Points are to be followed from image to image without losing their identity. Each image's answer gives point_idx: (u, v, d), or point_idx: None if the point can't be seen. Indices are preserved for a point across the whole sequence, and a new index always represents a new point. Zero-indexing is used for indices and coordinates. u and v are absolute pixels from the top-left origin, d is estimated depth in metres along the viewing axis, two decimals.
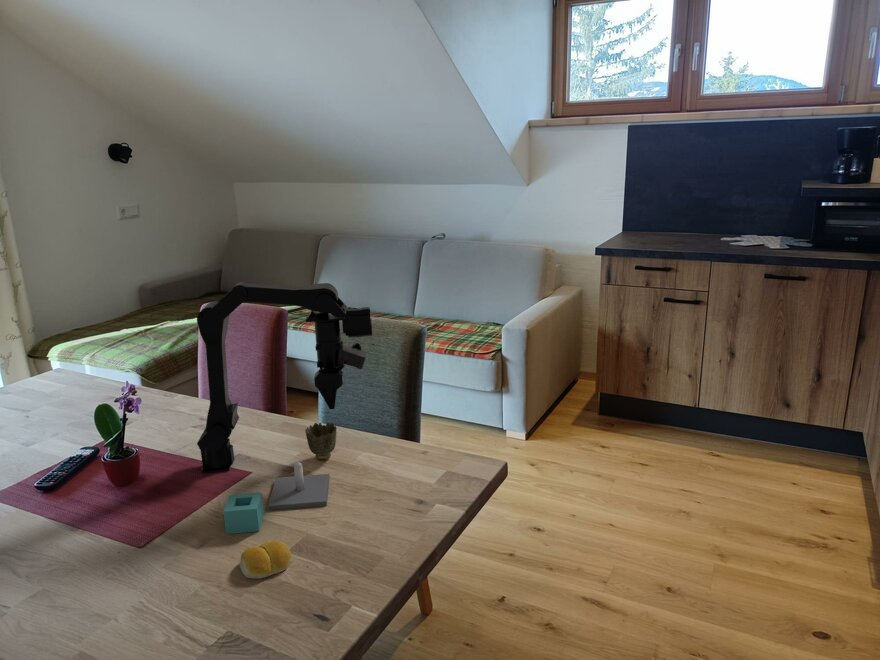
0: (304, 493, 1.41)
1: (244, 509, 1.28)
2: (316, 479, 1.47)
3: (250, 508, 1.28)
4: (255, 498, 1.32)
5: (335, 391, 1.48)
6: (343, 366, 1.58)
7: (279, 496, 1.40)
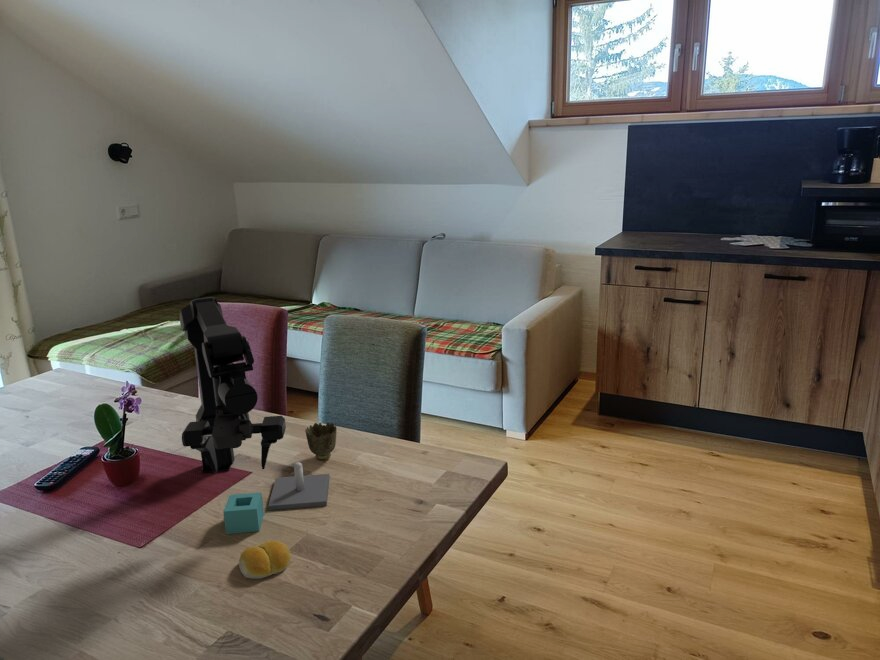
0: (304, 493, 1.41)
1: (244, 509, 1.28)
2: (316, 479, 1.47)
3: (250, 508, 1.28)
4: (255, 498, 1.32)
5: None
6: None
7: (279, 496, 1.40)
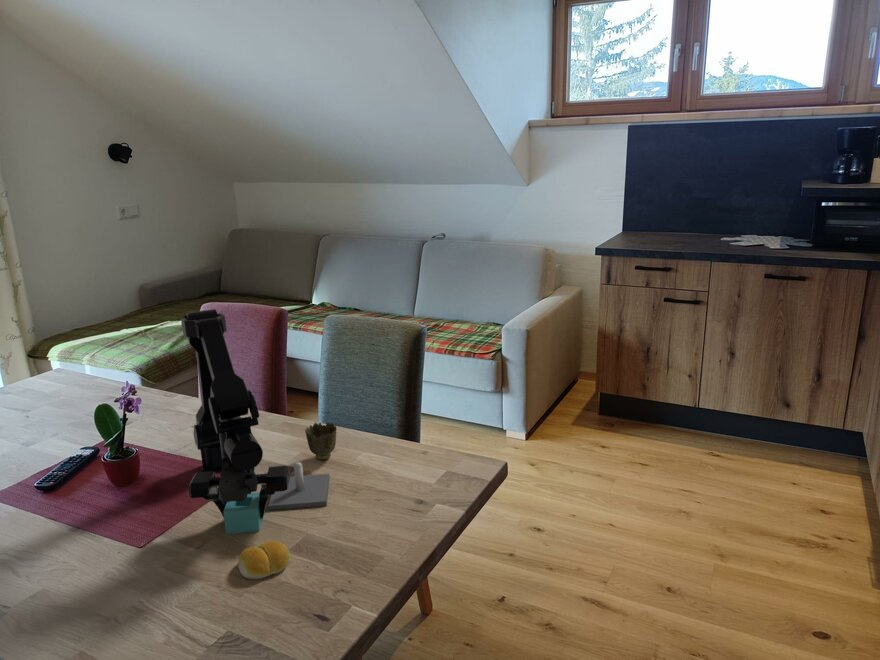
0: (304, 493, 1.41)
1: (244, 509, 1.28)
2: (316, 479, 1.47)
3: (250, 508, 1.28)
4: (255, 498, 1.32)
5: None
6: (259, 494, 1.28)
7: (279, 496, 1.40)
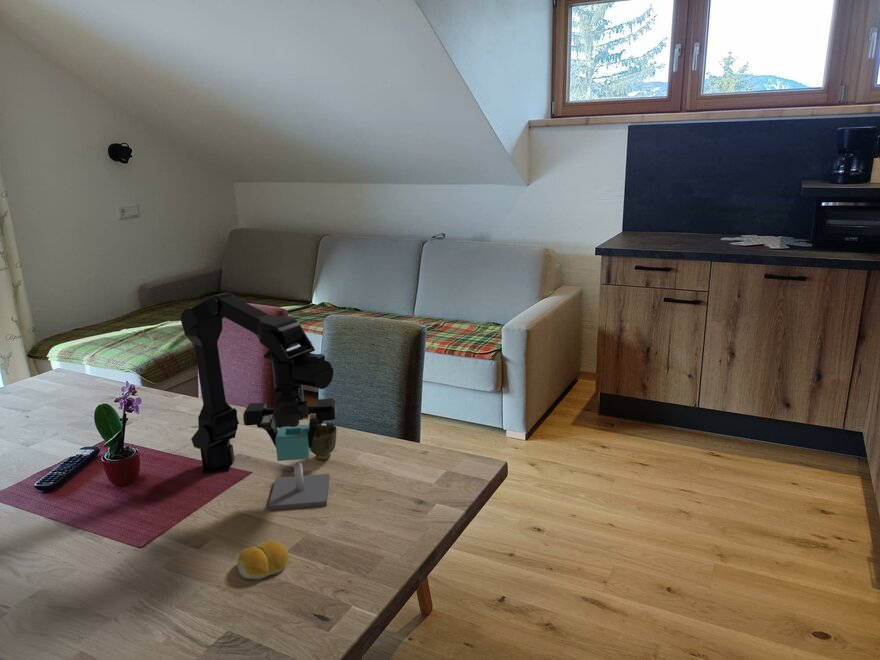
0: (304, 493, 1.41)
1: (295, 437, 1.36)
2: (316, 479, 1.47)
3: (300, 437, 1.36)
4: (304, 429, 1.40)
5: None
6: (309, 423, 1.36)
7: (279, 496, 1.40)
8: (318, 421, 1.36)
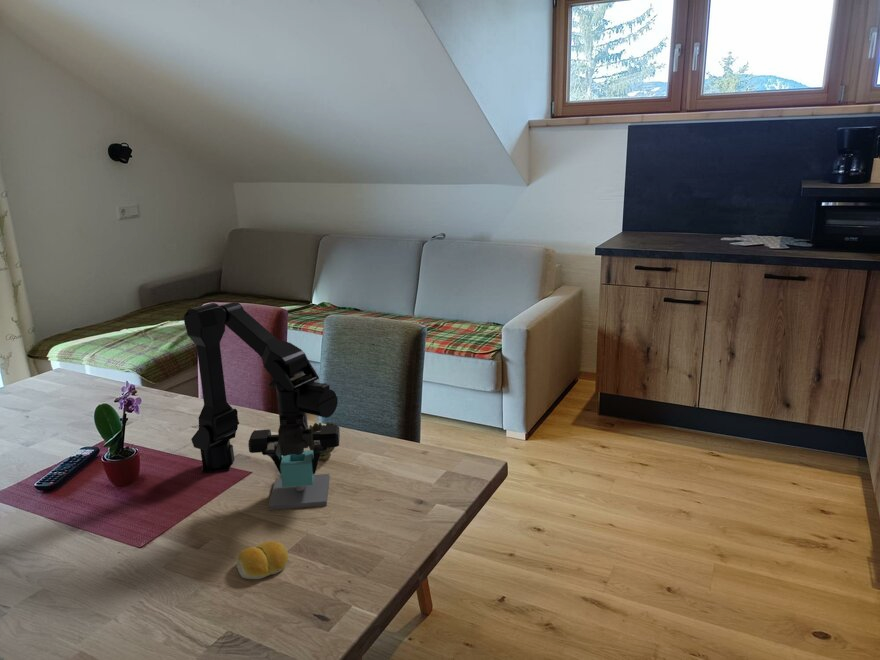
0: (304, 493, 1.41)
1: (299, 463, 1.38)
2: (316, 479, 1.47)
3: (304, 463, 1.38)
4: (308, 455, 1.42)
5: None
6: (313, 450, 1.38)
7: (279, 496, 1.40)
8: (322, 448, 1.38)
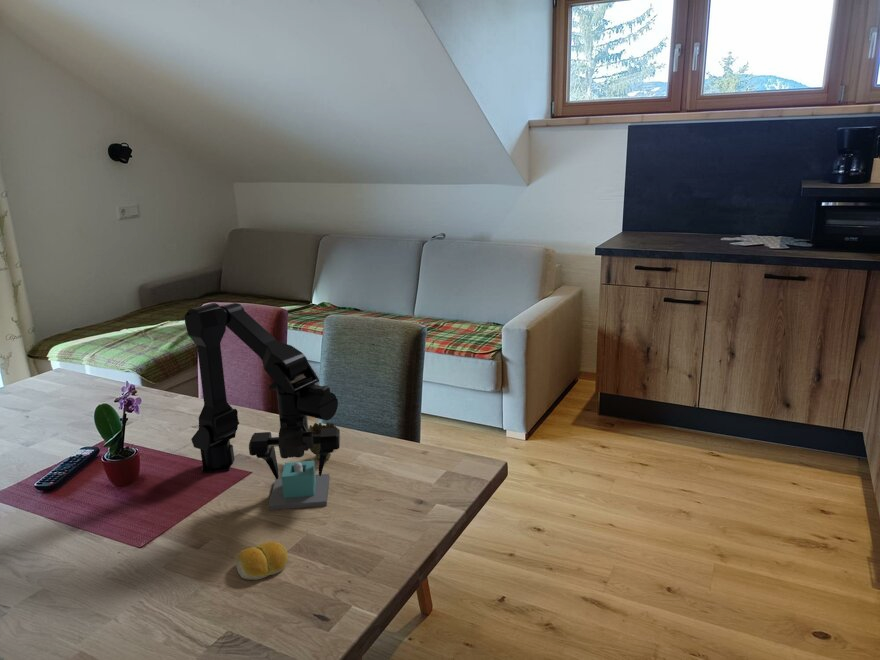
0: None
1: (300, 474, 1.39)
2: (316, 479, 1.47)
3: (306, 474, 1.39)
4: (309, 466, 1.43)
5: None
6: None
7: (279, 496, 1.40)
8: (328, 450, 1.39)
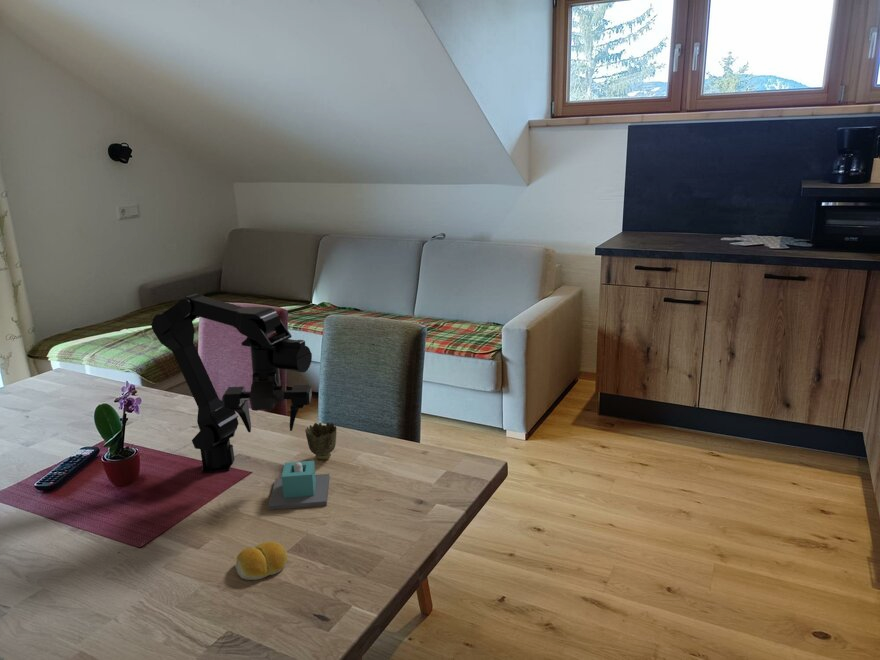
0: None
1: (300, 474, 1.39)
2: (316, 479, 1.47)
3: (306, 474, 1.39)
4: (309, 466, 1.43)
5: None
6: (290, 407, 1.43)
7: (279, 496, 1.40)
8: (299, 405, 1.44)
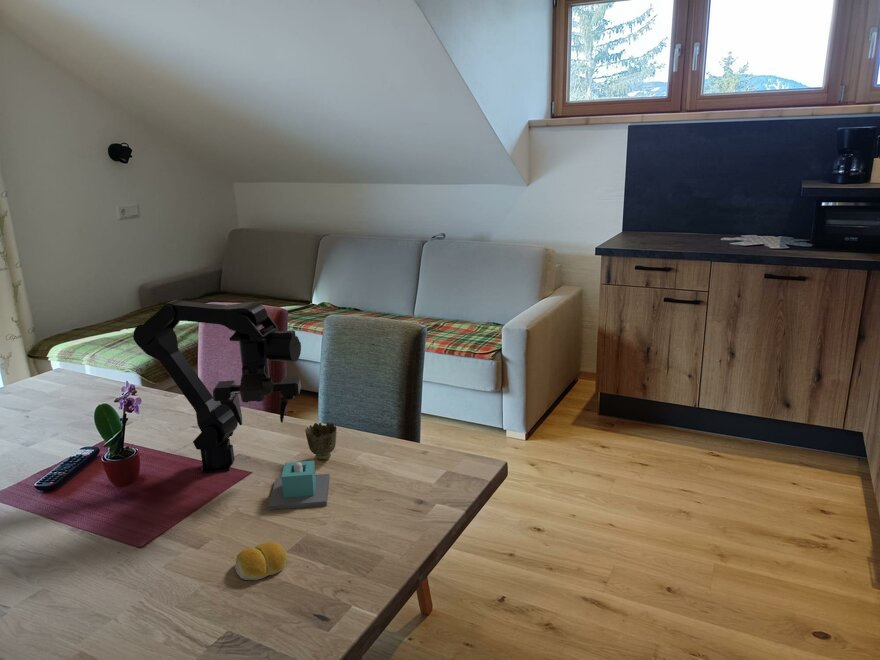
0: None
1: (300, 474, 1.39)
2: (316, 479, 1.47)
3: (306, 474, 1.39)
4: (309, 466, 1.43)
5: None
6: (280, 398, 1.46)
7: (279, 496, 1.40)
8: (288, 397, 1.47)
